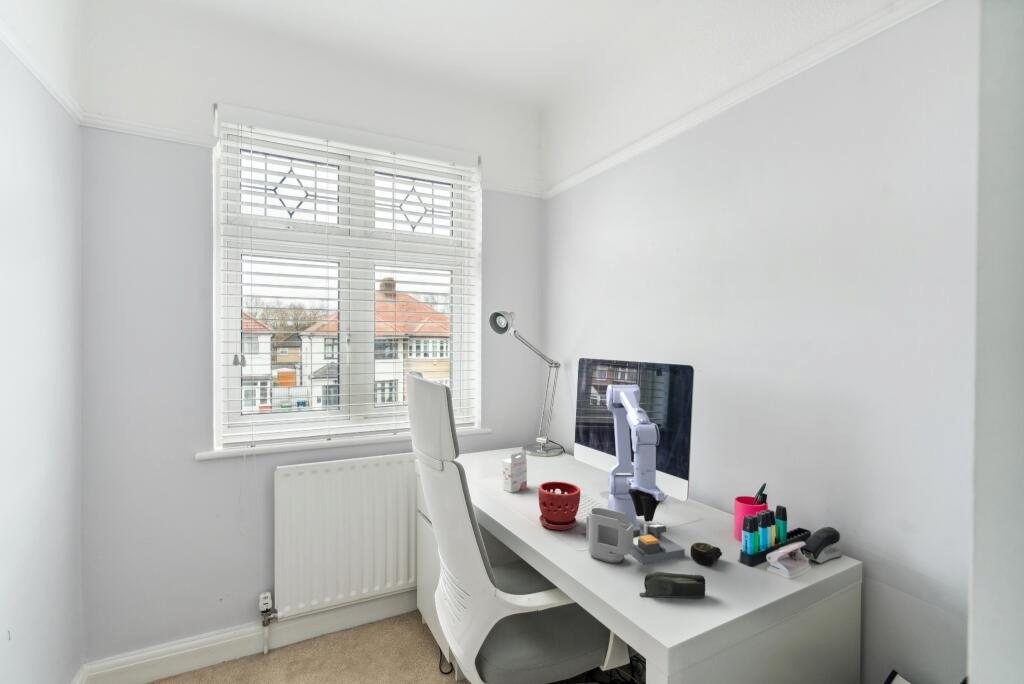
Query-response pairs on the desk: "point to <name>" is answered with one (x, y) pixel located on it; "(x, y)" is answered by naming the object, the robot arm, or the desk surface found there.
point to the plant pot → (558, 505)
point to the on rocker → (654, 528)
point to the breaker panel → (666, 547)
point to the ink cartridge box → (515, 473)
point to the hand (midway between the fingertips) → (644, 518)
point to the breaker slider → (649, 544)
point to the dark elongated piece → (674, 585)
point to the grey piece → (609, 534)
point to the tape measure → (705, 553)
